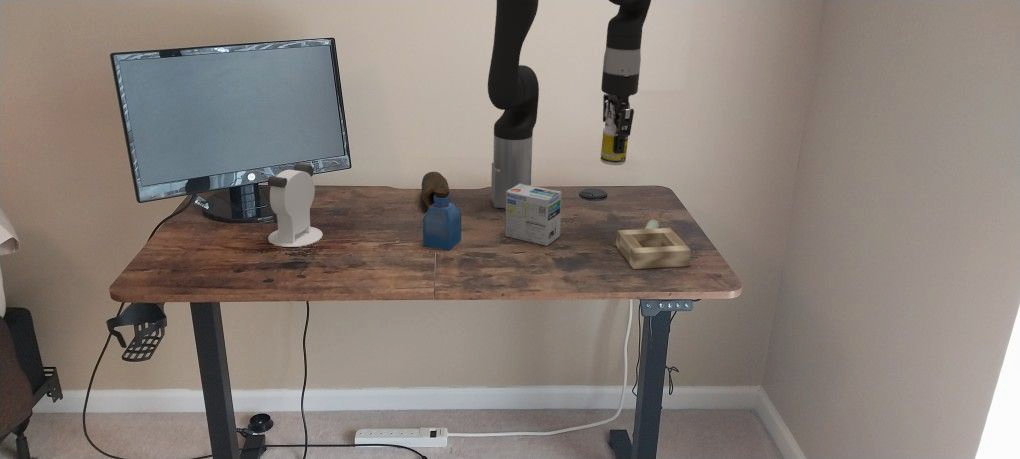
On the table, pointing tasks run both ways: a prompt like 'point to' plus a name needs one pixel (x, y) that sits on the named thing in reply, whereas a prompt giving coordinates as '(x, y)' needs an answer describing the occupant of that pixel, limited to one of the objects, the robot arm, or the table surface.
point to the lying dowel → (652, 224)
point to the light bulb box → (533, 214)
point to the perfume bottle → (442, 222)
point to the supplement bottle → (611, 146)
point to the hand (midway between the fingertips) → (614, 148)
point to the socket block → (653, 248)
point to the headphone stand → (293, 207)
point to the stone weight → (432, 186)
